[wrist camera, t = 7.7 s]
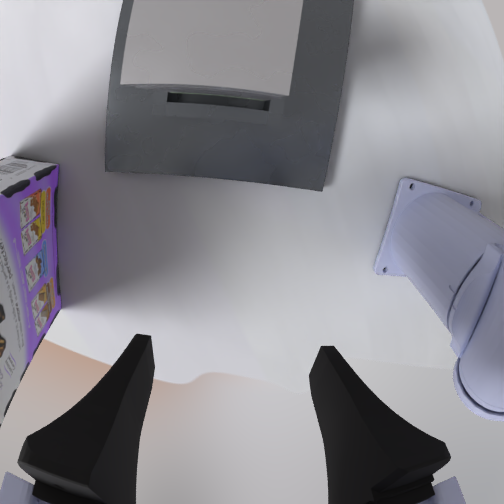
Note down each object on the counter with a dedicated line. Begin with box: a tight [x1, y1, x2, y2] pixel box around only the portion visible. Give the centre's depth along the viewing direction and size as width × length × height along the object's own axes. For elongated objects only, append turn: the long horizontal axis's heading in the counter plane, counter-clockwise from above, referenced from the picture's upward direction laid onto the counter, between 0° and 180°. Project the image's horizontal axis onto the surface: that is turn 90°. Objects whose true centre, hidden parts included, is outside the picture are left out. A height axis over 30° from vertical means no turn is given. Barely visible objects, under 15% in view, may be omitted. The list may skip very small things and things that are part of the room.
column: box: [120, 0, 303, 101], centre depth 8 cm, size 4×4×7 cm
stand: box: [105, 0, 354, 192], centre depth 14 cm, size 14×14×4 cm
